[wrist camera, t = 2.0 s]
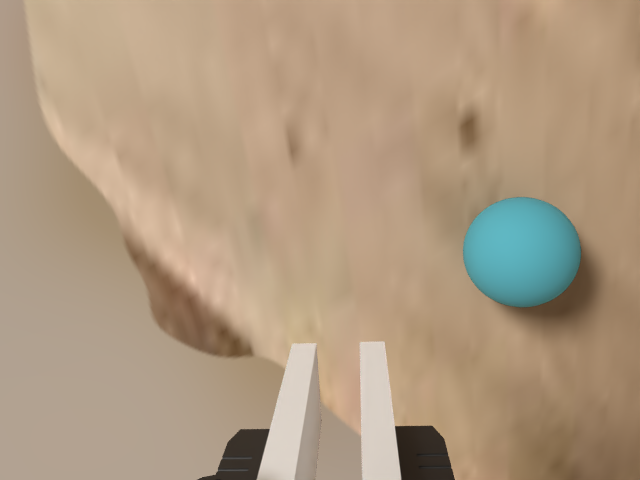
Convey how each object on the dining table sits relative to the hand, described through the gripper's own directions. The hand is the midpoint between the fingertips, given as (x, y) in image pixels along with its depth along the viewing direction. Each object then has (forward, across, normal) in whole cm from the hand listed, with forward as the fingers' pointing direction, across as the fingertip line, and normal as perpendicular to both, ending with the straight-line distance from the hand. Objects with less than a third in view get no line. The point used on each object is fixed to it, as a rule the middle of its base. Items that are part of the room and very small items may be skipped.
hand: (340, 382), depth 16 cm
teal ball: (+13, +10, 0) cm, 16 cm away
